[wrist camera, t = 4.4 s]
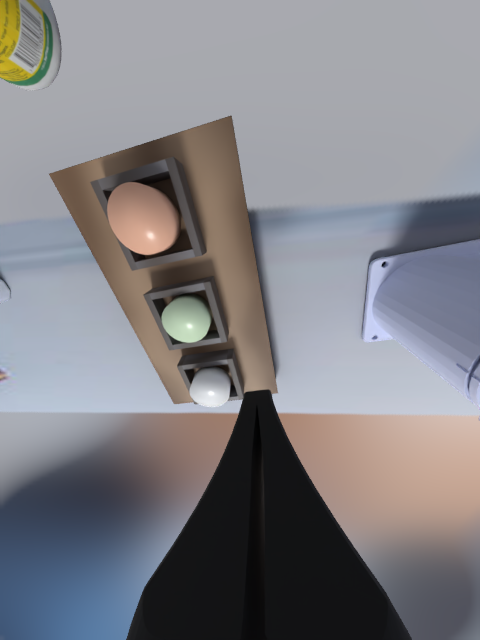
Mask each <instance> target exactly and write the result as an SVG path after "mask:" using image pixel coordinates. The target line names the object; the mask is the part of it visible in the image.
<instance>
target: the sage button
mask: <svg viewBox="0 0 480 640" xmlns="http://www.w3.org/2000/svg"><path fill="white" fill-rule="evenodd" d="M212 317H213V315H212V310H211V307H210V305H209V304H208V303H207V301H206V300H204V299H203V298H202V297H200V296H198V295H195V294H190V293H186V294H181V295H179V296H177V297H176V298H174V299H173V300H172V302H171V303H170V304H169V305H168V306H167V307H166V308H165V309H164V311H163V313H162V324H163V327H164V329H165V330H166V332H167V333H168V334H169V335H170V336H171V337H173V338H174V339H176V340H178V341H181V342H187V343H191V342H196V341H199V340H201V339H202V338H203V337H204V336H205V335H206V334H207V332H208V329H209V327H210V324H211V321H212Z"/></svg>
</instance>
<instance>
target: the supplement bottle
mask: <svg viewBox="0 0 480 640" xmlns="http://www.w3.org/2000/svg"><path fill="white" fill-rule="evenodd" d="M60 63H61V40H60V33H59V29H58V24H57V21H56V17H55V14H54V11H53V8H52V6H51V3H50V1H49V0H0V78H2V79H4V80H6V81H7V82H9V83H11V84H13V85H15V86H17V87H19V88H22V89H26V90H40V89H44V88H46V87H48V86H49V85H50V84H51V83H52V82H53V81H54V79H55V78H56V76H57V74H58V71H59V68H60Z"/></svg>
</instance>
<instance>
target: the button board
mask: <svg viewBox="0 0 480 640" xmlns="http://www.w3.org/2000/svg"><path fill="white" fill-rule="evenodd" d="M49 175H50V177H51V179H52V180H53V182H54V184H55V186H56V187H57V190H58V191H59V193H60V195H61V197H62V199H63V201H64V202H65V204H66V206H67V208H68V210H69V211H70V214H71V215H72V217H73V219H74V221H75V223H76V225H77V226H78V228H79V230H80V232H81V234H82V236H83V237H84V239H85V241H86V243H87V245H88V247H89V248H90V250H91V252H92V254H93V256H94V258H95V259H96V261H97V263H98V265H99V267H100V269H101V270H102V272H103V274H104V276H105V278H106V280H107V282H108V283H109V285H110V287H111V289H112V291H113V293H114V294H115V296H116V298H117V300H118V302H119V304H120V305H121V307H122V309H123V311H124V313H125V315H126V316H127V318H128V320H129V322H130V324H131V326H132V327H133V329H134V331H135V333H136V335H137V337H138V339H139V340H140V342H141V344H142V346H143V348H144V350H145V351H146V353H147V355H148V357H149V359H150V361H151V362H152V364H153V366H154V368H155V370H156V372H157V373H158V375H159V377H160V379H161V381H162V383H163V384H164V386H165V388H166V390H167V392H168V394H169V395H170V397H171V399H172V401H173V403H174V404H181V403H190V402H194V404H198V403H197V402H195V401H194V400H193V399H192V398H191V396H190V387H191V384H192V381H193V378H194V376H195V373H196V372H197V371H198V370H199V369H200V368H203V367H208V366H215V367H219V368H221V369H223V370H225V371H226V372H227V373H228V374H229V376H230V378H231V386H230V395H229V399H228V401H232V400H241V399H243V397H244V393H245V392H248V391H257V390H266V389H269V390H271V394H274V393H278V391H277V385H276V379H275V373H274V367H273V361H272V355H271V349H270V343H269V337H268V331H267V325H266V319H265V313H264V307H263V301H262V295H261V289H260V283H259V277H258V271H257V265H256V259H255V253H254V247H253V241H252V235H251V229H250V223H249V217H248V211H247V205H246V199H245V193H244V187H243V181H242V175H241V170H240V163H239V157H238V151H237V145H236V140H235V133H234V127H233V122H232V116H228V117H225V118H222V119H219V120H216V121H213V122H210V123H207V124H204V125H201V126H197V127H194V128H191V129H188V130H185V131H182V132H178V133H175V134H172V135H169V136H166V137H163V138H160V139H157V140H153V141H151V142H147V143H144V144H141V145H138V146H135V147H132V148H129V149H125V150H122V151H119V152H116V153H113V154H110V155H107V156H104V157H100V158H98V159H94V160H91V161H88V162H85V163H82V164H78V165H75V166H72V167H69V168H66V169H63V170H60V171H57V172H54V173H50V174H49ZM127 182H136V183H140V184H143V185H146V186H149V187H152V188H155V189H158V190H160V191H161V192H163V193H164V194H166V195H167V196H168V197H169V198H170V199H171V200H172V202H173V203H174V205H175V206H176V208H177V210H178V213H179V216H180V220H181V232H180V236H179V238H178V240H177V242H176V243H175V244H174V245H173V246H172V247H171V248H169V249H167V250H164V251H161V252H158V253H155V254H151V255H144V254H139V253H136V252H134V251H132V250H130V249H129V248H127V247H126V246H125V245H123V244H122V243H121V242H120V240H119V239H118V238H117V237H116V235H115V234H114V232H113V230H112V228H111V226H110V223H109V220H108V214H107V205H108V200H109V197H110V195H111V193H112V192H113V190H114V189H115V188H116V187H118V186H119V185H121V184H123V183H127ZM186 293H190V294H195V295H198V296H200V297H202V298H203V299H204V300H206V301H207V303H208V304H209V305H210V307H211V310H212V315H213V317H212V321H211V324H210V327H209V329H208V332H207V334H206V335H205V336H204V337H203V338H202V339H201V340H199V341H196V342H191V343H187V342H181V341H178V340H176V339H174V338H173V337H171V336H170V335H169V334H168V333H167V332H166V330H165V329H164V327H163V324H162V313H163V311H164V309H165V308H166V307H167V306H168V305H169V304H170V303H171V302H172V300H173V299H174V298H176V297H177V296H179V295H181V294H186Z"/></svg>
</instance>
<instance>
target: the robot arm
mask: <svg viewBox="0 0 480 640" xmlns="http://www.w3.org/2000/svg"><path fill="white" fill-rule="evenodd" d="M383 262H386V263H385V265H384V266H383V267H382V263H383ZM374 335H375V336H374ZM373 336H374V337H373ZM372 337H373V338H372ZM362 339H363V340H364V341H365V342H374V341H382V340H389V339H395V340H396V341H397V342H399V343H400V344H401V345H402V346H403V347H405V348H406V349H407V350H408V351H410V352H411V353H412V354H413V355H415V356H416V357H417V358H418V359H419V360H421V361H422V362H423V363H424V364H426V365H427V366H428V367H429V368H430V369H432V370H433V371H434V372H435V373H437V374H438V375H439V376H440V377H441V378H443V379H444V380H445V381H446V382H448V383H449V384H450V385H451V386H452V387H454V388H455V389H456V390H457V391H459V392H460V393H461V394H462V395H463V396H465V397H466V398H467V399H468V400H470V401H471V402H472V403H473V404H475V405H476V406H477V407H478V408H479V410H480V239H477V240H472V241H467V242H461V243H456V244H451V245H446V246H441V247H435V248H430V249H425V250H420V251H414V252H409V253H404V254H399V255H394V256H388V257H383V258H378V259H375V260H373V261H372V262H371V263H370V265H369V273H368V283H367V293H366V302H365V312H364V322H363V332H362ZM479 420H480V416H479ZM126 640H412V639H411V637H410V635H409V633H408V631H407V629H406V628H405V626H404V624H403V622H402V620H401V619H400V617H399V615H398V613H397V612H396V610H395V608H394V607H393V605H392V603H391V601H390V599H389V597H388V596H387V594H386V592H385V591H384V589H383V588H382V586H381V585H380V584H379V582H378V581H377V579H376V578H375V576H374V575H373V574H372V572H371V571H370V569H369V568H368V567H367V565H366V564H365V562H364V561H363V559H362V558H361V556H360V555H359V554H358V552H357V551H356V549H355V548H354V547H353V545H352V543H351V542H350V540H349V539H348V537H347V536H346V534H345V533H344V531H343V530H342V528H341V527H340V525H339V524H338V522H337V521H336V519H335V518H334V517H333V515H332V513H331V511H330V510H329V508H328V507H327V505H326V504H325V502H324V501H323V499H322V497H321V496H320V494H319V493H318V491H317V490H316V488H315V486H314V484H313V483H312V481H311V479H310V478H309V476H308V474H307V473H306V471H305V469H304V467H303V465H302V464H301V462H300V460H299V458H298V456H297V454H296V452H295V451H294V449H293V447H292V445H291V443H290V441H289V439H288V437H287V435H286V432H285V430H284V428H283V426H282V424H281V422H280V419H279V417H278V414H277V411H276V409H275V406H274V403H273V399H272V394H271V390H269V389H266V390H257V391H248V392H245V393H244V397H243V401H242V405H241V408H240V412H239V415H238V418H237V421H236V424H235V426H234V429H233V432H232V435H231V437H230V440H229V442H228V444H227V447H226V449H225V452H224V454H223V456H222V458H221V460H220V463H219V465H218V467H217V469H216V471H215V473H214V475H213V477H212V479H211V481H210V482H209V484H208V486H207V488H206V490H205V492H204V494H203V496H202V498H201V499H200V501H199V503H198V505H197V506H196V508H195V510H194V511H193V513H192V515H191V516H190V518H189V520H188V521H187V523H186V524H185V526H184V528H183V529H182V531H181V533H180V534H179V536H178V538H177V539H176V541H175V542H174V544H173V545H172V547H171V549H170V550H169V551H168V553H167V554H166V556H165V557H164V559H163V560H162V562H161V563H160V565H159V566H158V568H157V569H156V571H155V572H154V574H153V575H152V577H151V578H150V580H149V581H148V583H147V584H146V586H145V588H144V590H143V592H142V595H141V598H140V600H139V603H138V606H137V609H136V612H135V614H134V617H133V620H132V623H131V626H130V629H129V633H128V636H127V639H126Z"/></svg>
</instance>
